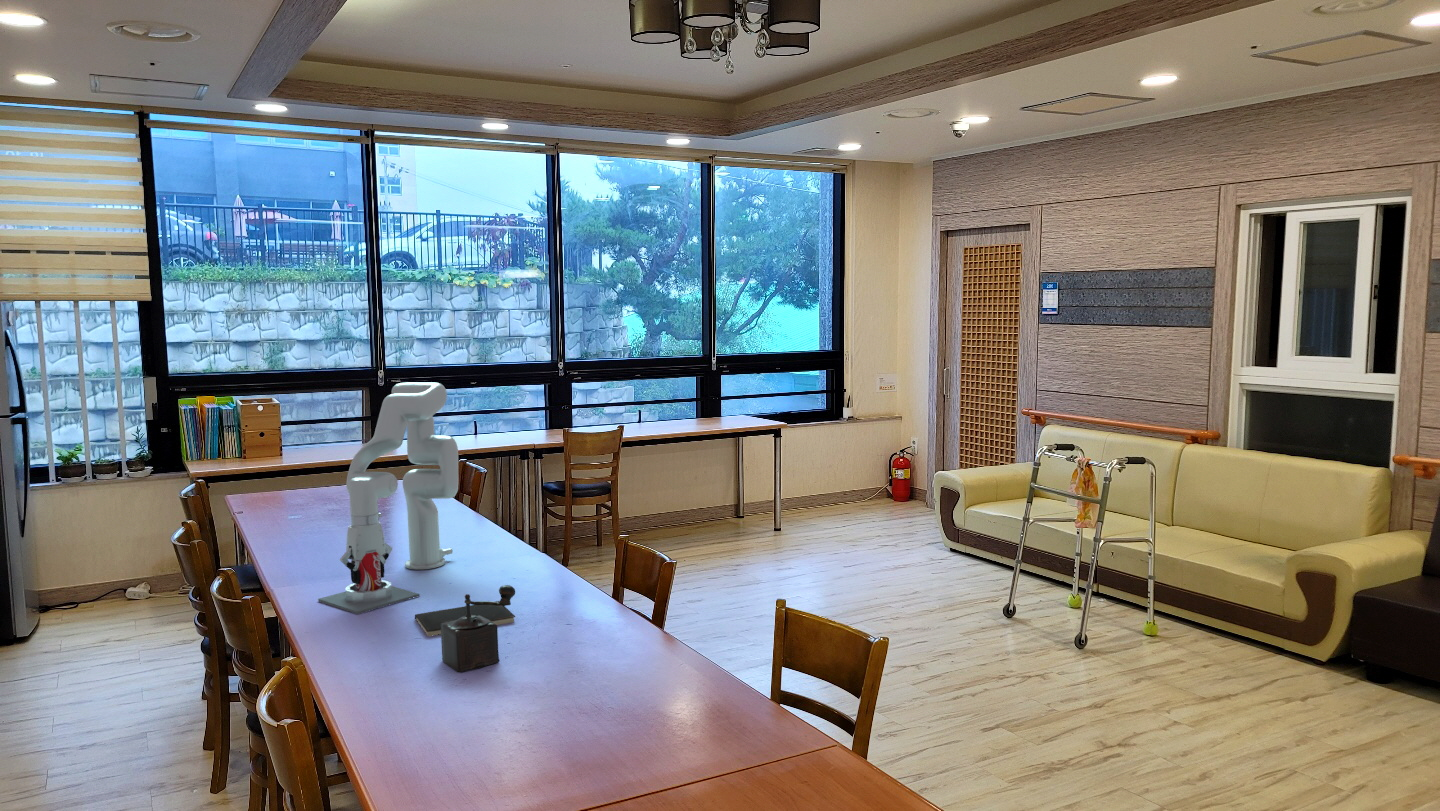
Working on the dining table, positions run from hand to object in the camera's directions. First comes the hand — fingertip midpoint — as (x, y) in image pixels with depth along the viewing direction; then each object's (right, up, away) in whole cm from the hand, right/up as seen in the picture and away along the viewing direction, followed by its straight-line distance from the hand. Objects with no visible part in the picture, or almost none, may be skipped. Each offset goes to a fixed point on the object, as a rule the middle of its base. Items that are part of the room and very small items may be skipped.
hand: (368, 579), depth 288 cm
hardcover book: (+33, -8, -21) cm, 40 cm away
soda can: (0, -3, 0) cm, 3 cm away
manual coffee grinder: (+44, -11, -49) cm, 67 cm away
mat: (0, -6, +1) cm, 6 cm away
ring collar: (0, -6, +1) cm, 6 cm away
